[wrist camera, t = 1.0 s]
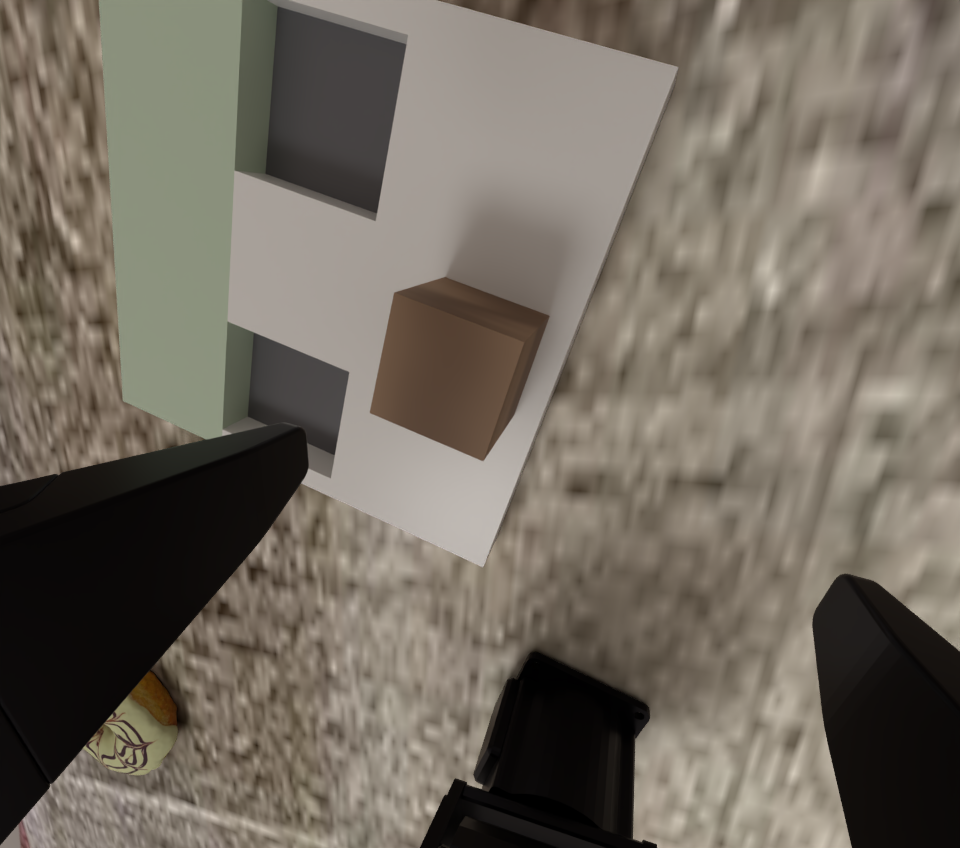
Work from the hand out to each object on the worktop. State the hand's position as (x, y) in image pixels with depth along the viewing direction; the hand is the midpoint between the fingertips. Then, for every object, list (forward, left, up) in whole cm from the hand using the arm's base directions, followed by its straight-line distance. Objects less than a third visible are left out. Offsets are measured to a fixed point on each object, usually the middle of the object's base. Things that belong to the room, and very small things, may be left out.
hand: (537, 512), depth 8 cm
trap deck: (+11, +1, -12) cm, 16 cm away
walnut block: (+4, +1, -10) cm, 11 cm away
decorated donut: (+24, +41, -12) cm, 49 cm away
